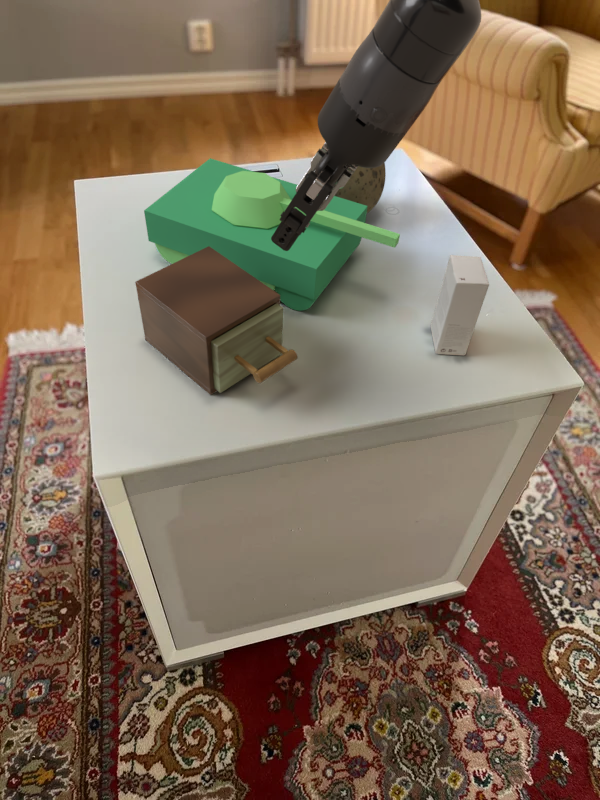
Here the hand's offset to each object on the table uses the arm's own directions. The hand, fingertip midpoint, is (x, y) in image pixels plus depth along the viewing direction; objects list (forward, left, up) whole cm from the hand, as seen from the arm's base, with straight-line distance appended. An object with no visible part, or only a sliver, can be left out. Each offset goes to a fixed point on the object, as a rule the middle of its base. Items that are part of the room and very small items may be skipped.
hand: (295, 223), depth 68 cm
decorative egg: (+3, +38, -21) cm, 43 cm away
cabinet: (-10, +1, -21) cm, 23 cm away
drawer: (-7, -2, -20) cm, 21 cm away
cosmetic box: (+21, +10, -21) cm, 31 cm away
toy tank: (-5, +21, -21) cm, 30 cm away
